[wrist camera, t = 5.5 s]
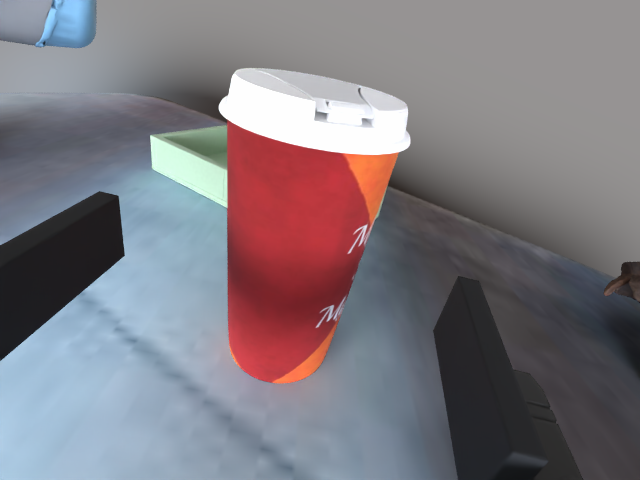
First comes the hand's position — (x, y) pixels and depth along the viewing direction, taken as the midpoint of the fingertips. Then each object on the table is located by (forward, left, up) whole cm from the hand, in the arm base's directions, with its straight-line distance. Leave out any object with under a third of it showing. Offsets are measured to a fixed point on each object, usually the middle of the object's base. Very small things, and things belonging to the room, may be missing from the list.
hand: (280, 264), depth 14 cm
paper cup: (-2, +3, -8) cm, 9 cm away
